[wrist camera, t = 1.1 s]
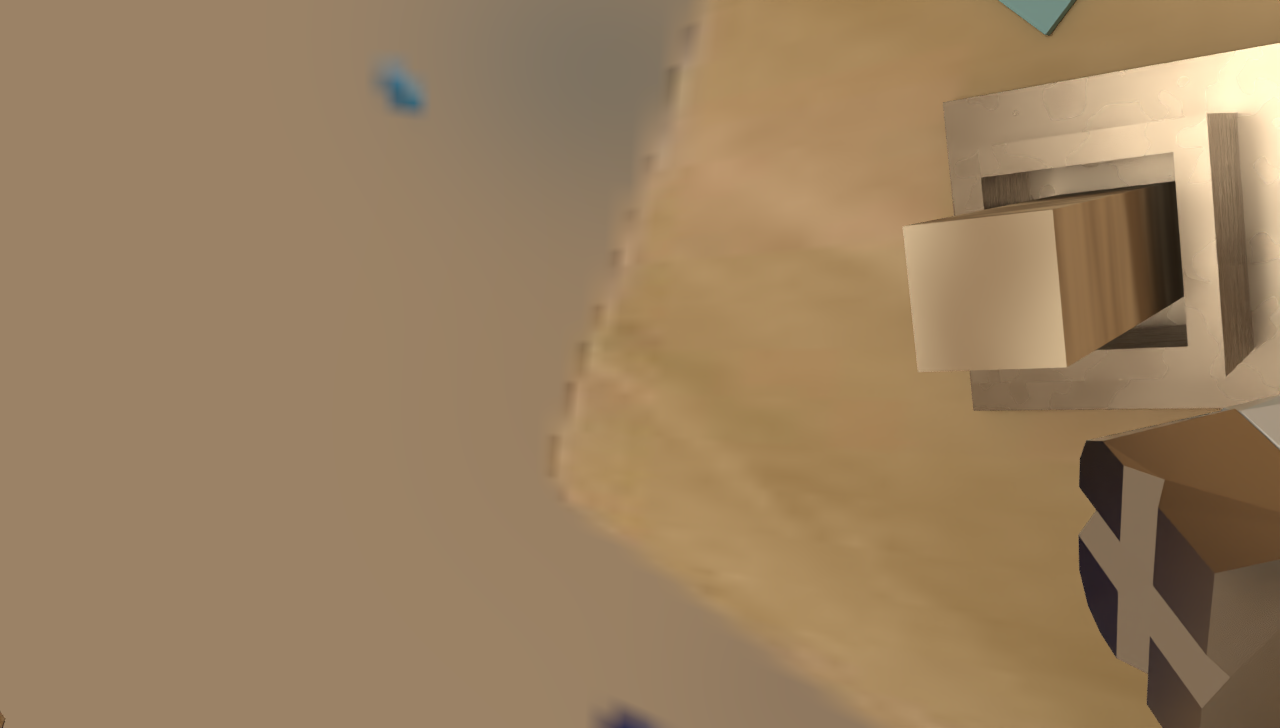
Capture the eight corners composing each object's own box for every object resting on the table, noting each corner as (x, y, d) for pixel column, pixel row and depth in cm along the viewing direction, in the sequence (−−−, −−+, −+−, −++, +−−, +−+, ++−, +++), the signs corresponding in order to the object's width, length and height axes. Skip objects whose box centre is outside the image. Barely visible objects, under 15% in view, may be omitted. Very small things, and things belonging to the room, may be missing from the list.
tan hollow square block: (1305, 40, 38) (1277, 31, 33) (1328, 400, 39) (1304, 441, 35) (952, 102, 45) (888, 101, 40) (982, 405, 47) (923, 439, 42)
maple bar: (1176, 180, 40) (1052, 209, 29) (1185, 295, 41) (1066, 367, 30) (1058, 194, 43) (902, 226, 31) (1068, 303, 43) (917, 372, 32)
